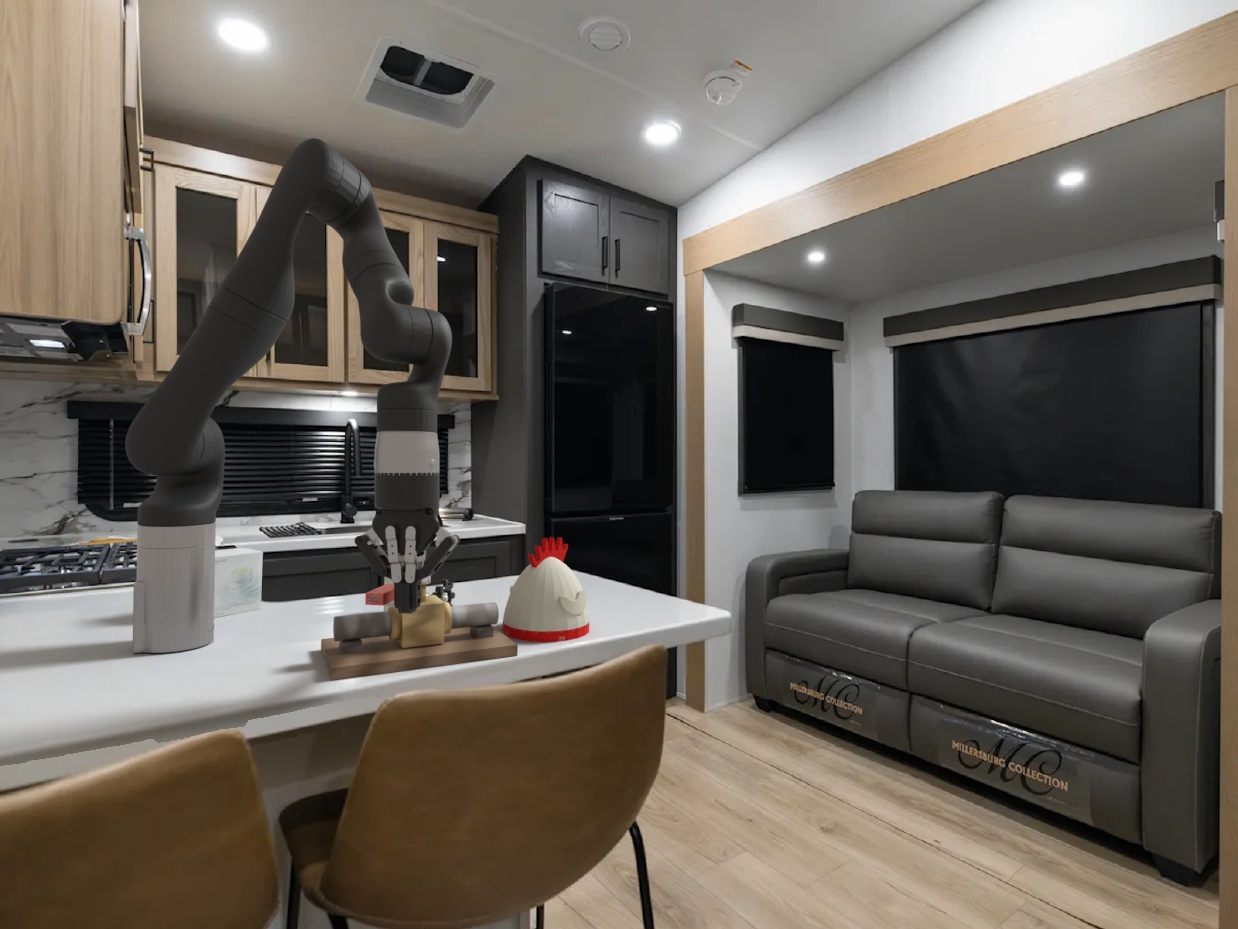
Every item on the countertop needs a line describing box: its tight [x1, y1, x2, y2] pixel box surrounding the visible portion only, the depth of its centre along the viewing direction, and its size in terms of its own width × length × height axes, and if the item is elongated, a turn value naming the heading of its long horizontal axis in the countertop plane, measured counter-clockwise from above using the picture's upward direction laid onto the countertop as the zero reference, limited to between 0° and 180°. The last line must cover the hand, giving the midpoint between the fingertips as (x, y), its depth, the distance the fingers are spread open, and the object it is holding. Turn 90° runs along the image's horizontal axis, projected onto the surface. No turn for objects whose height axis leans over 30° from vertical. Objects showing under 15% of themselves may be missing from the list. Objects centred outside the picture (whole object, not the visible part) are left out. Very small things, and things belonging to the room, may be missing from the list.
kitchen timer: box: [502, 536, 590, 643], centre depth 106 cm, size 14×14×15 cm
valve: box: [383, 577, 456, 612], centre depth 114 cm, size 7×7×12 cm
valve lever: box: [364, 575, 432, 606], centre depth 86 cm, size 15×3×1 cm, turn 175°
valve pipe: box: [320, 584, 519, 681], centre depth 92 cm, size 24×14×10 cm, turn 119°
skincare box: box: [214, 547, 264, 619], centre depth 112 cm, size 10×6×10 cm, turn 148°
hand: (407, 612), depth 80 cm, fingers closed
